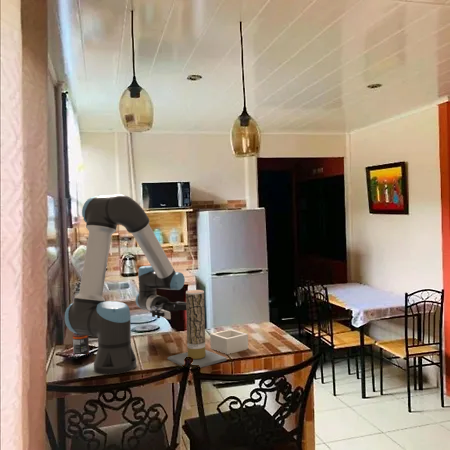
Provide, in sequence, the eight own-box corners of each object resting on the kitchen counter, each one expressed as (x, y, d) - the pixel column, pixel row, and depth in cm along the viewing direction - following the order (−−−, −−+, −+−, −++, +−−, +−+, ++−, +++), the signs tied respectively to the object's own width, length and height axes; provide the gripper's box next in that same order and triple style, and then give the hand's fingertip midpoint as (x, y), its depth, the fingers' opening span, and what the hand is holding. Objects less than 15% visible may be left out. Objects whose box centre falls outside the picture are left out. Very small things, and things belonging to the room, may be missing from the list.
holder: (227, 354, 183) (226, 339, 183) (210, 348, 192) (210, 333, 191) (248, 348, 190) (247, 334, 190) (231, 343, 198) (231, 329, 198)
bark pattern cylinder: (203, 360, 173) (201, 293, 172) (185, 359, 175) (183, 293, 174) (207, 354, 180) (205, 289, 179) (190, 354, 181) (188, 289, 180)
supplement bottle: (82, 352, 191) (81, 324, 191) (92, 354, 188) (91, 326, 187) (70, 356, 186) (69, 328, 186) (80, 358, 183) (79, 329, 182)
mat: (190, 370, 166) (190, 367, 166) (167, 359, 179) (167, 356, 179) (226, 360, 176) (226, 357, 176) (202, 350, 189) (202, 348, 188)
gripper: (183, 309, 207) (211, 317, 190) (131, 318, 193) (156, 328, 175) (183, 292, 207) (210, 298, 190) (131, 300, 192) (156, 308, 175)
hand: (184, 312), depth 183 cm, fingers open, 13 cm apart
